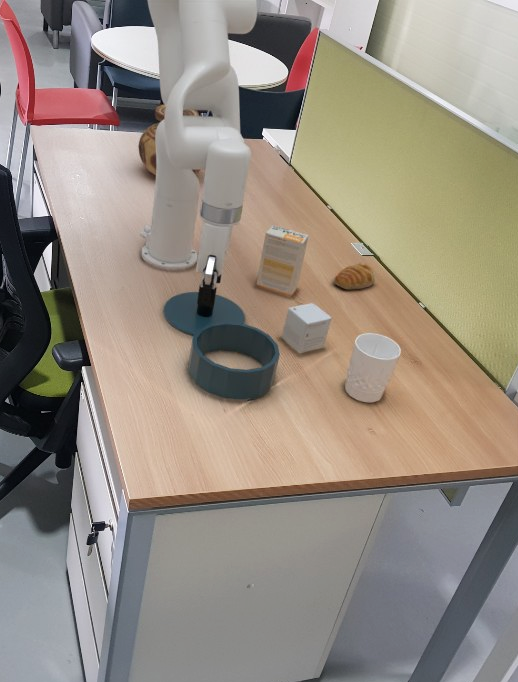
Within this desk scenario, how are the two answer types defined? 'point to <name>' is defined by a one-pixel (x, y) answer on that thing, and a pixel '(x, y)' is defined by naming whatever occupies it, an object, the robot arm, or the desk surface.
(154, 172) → the clay pot
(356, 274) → the pastry
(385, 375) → the white cup
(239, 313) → the pot lid
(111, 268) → the desk surface
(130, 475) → the desk surface
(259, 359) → the pot
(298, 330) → the product box
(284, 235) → the supplement box
